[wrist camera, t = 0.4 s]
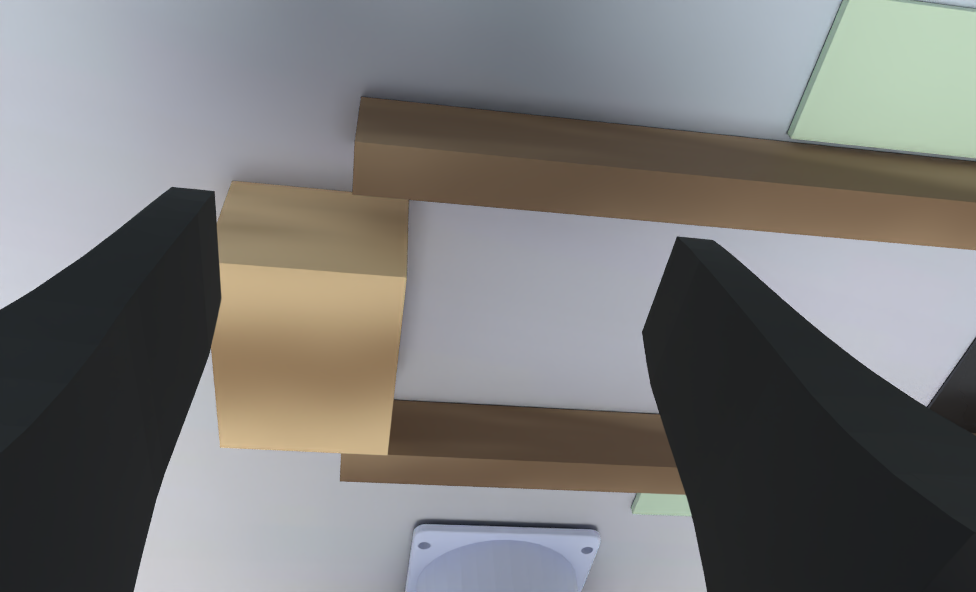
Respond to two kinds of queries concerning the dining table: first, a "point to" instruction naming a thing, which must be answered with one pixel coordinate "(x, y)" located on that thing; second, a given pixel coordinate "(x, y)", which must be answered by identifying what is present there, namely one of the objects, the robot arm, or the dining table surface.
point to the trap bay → (959, 393)
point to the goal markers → (884, 99)
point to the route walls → (626, 195)
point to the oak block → (308, 318)
